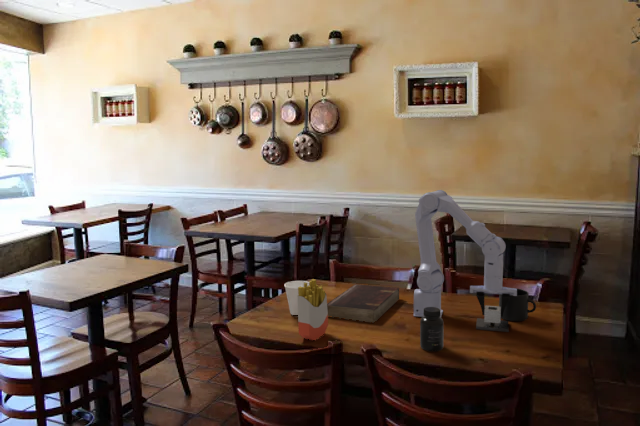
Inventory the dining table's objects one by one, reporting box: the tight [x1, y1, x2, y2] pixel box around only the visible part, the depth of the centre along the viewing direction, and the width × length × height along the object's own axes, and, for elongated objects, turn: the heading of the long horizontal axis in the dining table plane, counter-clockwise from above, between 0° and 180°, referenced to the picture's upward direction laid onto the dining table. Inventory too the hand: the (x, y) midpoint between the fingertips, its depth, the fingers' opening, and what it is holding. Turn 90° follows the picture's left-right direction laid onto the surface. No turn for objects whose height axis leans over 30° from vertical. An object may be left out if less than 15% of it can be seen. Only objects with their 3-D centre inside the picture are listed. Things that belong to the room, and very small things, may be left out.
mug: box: [498, 287, 537, 322], centre depth 180 cm, size 9×12×9 cm
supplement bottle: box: [419, 307, 445, 353], centre depth 156 cm, size 7×7×12 cm
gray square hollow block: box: [483, 304, 502, 323], centre depth 172 cm, size 5×5×4 cm
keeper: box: [475, 317, 510, 333], centre depth 173 cm, size 10×8×4 cm
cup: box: [284, 280, 309, 316], centre depth 190 cm, size 10×10×11 cm
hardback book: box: [327, 283, 400, 324], centre depth 196 cm, size 29×19×5 cm, turn 154°
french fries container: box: [297, 278, 329, 341], centre depth 166 cm, size 5×11×18 cm, turn 147°
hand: (492, 315), depth 172 cm, fingers closed on gray square hollow block, 5 cm apart
